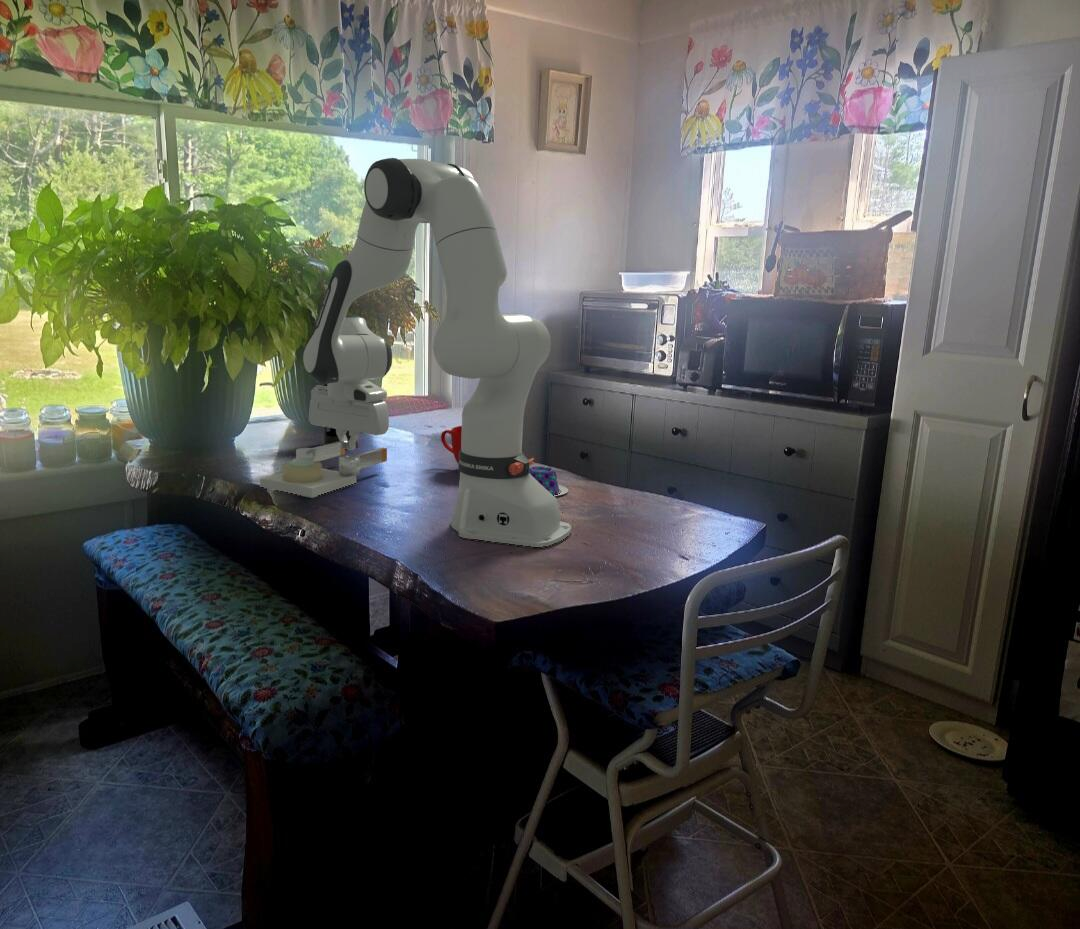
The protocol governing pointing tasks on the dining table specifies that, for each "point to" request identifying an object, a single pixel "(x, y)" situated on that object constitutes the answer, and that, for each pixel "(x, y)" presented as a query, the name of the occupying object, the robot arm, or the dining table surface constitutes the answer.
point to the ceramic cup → (453, 440)
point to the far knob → (320, 452)
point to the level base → (309, 487)
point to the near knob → (361, 461)
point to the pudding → (548, 479)
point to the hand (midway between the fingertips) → (348, 449)
